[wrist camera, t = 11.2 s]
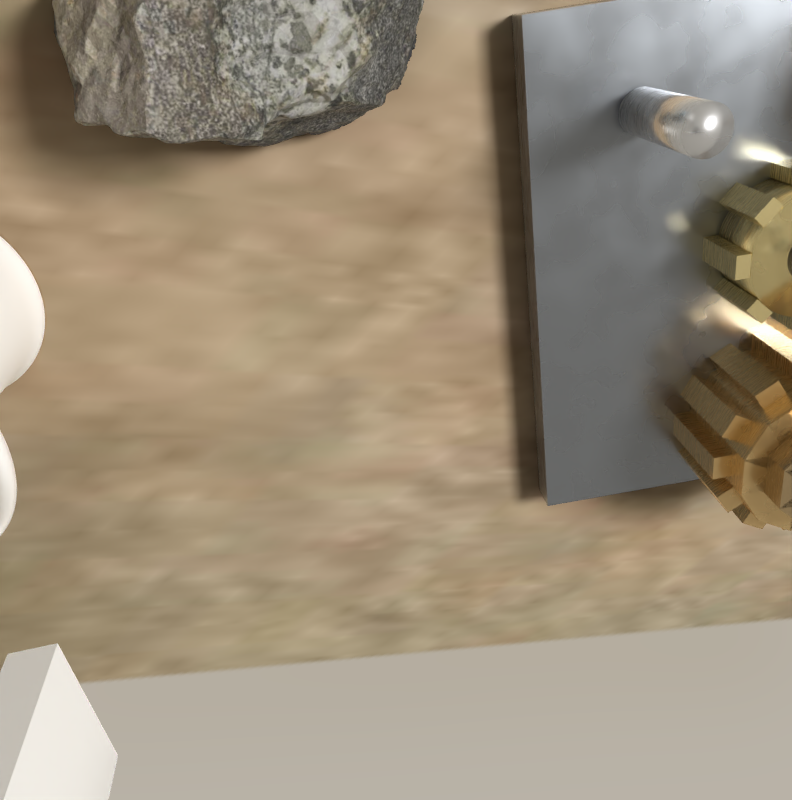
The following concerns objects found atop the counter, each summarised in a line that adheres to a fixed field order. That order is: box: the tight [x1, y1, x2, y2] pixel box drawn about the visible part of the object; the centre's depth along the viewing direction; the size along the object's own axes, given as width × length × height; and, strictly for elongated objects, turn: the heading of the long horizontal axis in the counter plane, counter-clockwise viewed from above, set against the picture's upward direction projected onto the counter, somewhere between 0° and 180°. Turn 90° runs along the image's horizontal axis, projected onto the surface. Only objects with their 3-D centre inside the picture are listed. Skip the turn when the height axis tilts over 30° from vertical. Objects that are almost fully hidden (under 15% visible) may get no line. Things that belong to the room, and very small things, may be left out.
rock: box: [52, 0, 424, 146], centre depth 25 cm, size 13×9×6 cm, turn 114°
